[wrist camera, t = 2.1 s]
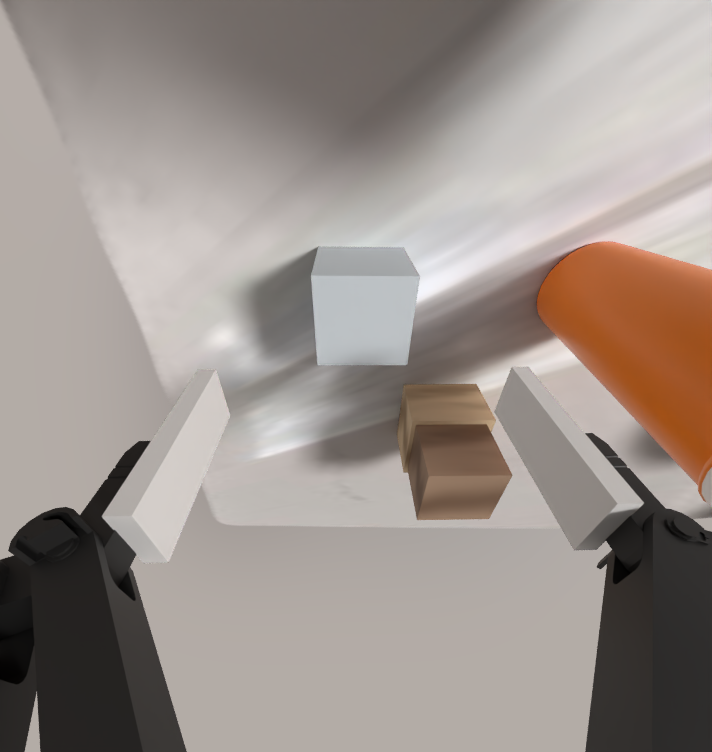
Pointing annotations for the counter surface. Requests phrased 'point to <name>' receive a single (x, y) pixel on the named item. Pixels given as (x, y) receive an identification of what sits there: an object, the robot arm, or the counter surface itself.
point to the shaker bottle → (642, 341)
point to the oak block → (439, 410)
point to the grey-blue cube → (363, 305)
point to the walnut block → (456, 472)
